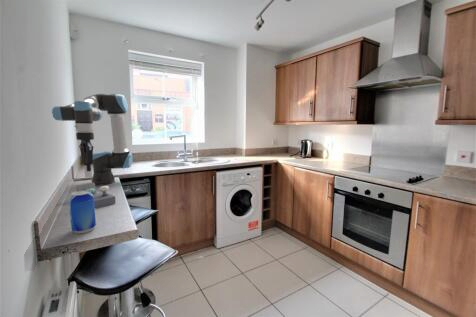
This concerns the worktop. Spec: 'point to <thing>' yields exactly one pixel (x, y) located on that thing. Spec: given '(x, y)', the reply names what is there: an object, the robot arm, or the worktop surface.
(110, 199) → the mount block
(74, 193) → the beer can
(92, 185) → the electrical switch
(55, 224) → the worktop surface
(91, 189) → the knob teal
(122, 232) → the worktop surface
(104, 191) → the knob cream
